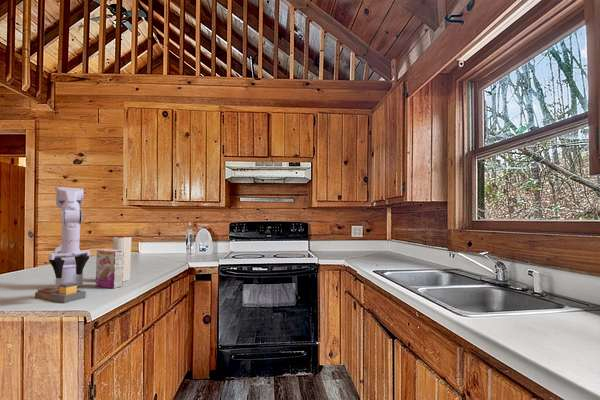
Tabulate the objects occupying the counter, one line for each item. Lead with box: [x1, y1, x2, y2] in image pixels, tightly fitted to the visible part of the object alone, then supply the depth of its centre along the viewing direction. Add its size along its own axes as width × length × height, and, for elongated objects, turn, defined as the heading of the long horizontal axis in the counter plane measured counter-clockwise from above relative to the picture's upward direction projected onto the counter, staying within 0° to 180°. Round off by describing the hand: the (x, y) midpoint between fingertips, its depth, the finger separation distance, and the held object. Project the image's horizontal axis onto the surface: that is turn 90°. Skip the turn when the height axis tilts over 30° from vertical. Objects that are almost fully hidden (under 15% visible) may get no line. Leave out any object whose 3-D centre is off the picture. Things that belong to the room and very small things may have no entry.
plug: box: [59, 282, 78, 295], centre depth 124 cm, size 4×4×5 cm
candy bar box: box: [95, 248, 124, 290], centre depth 146 cm, size 11×5×16 cm, turn 71°
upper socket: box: [34, 286, 59, 301], centre depth 128 cm, size 9×9×3 cm
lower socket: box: [49, 289, 87, 304], centre depth 124 cm, size 8×8×3 cm
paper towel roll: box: [112, 236, 133, 283], centre depth 157 cm, size 7×6×21 cm
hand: (69, 276), depth 125 cm, fingers open, 7 cm apart
